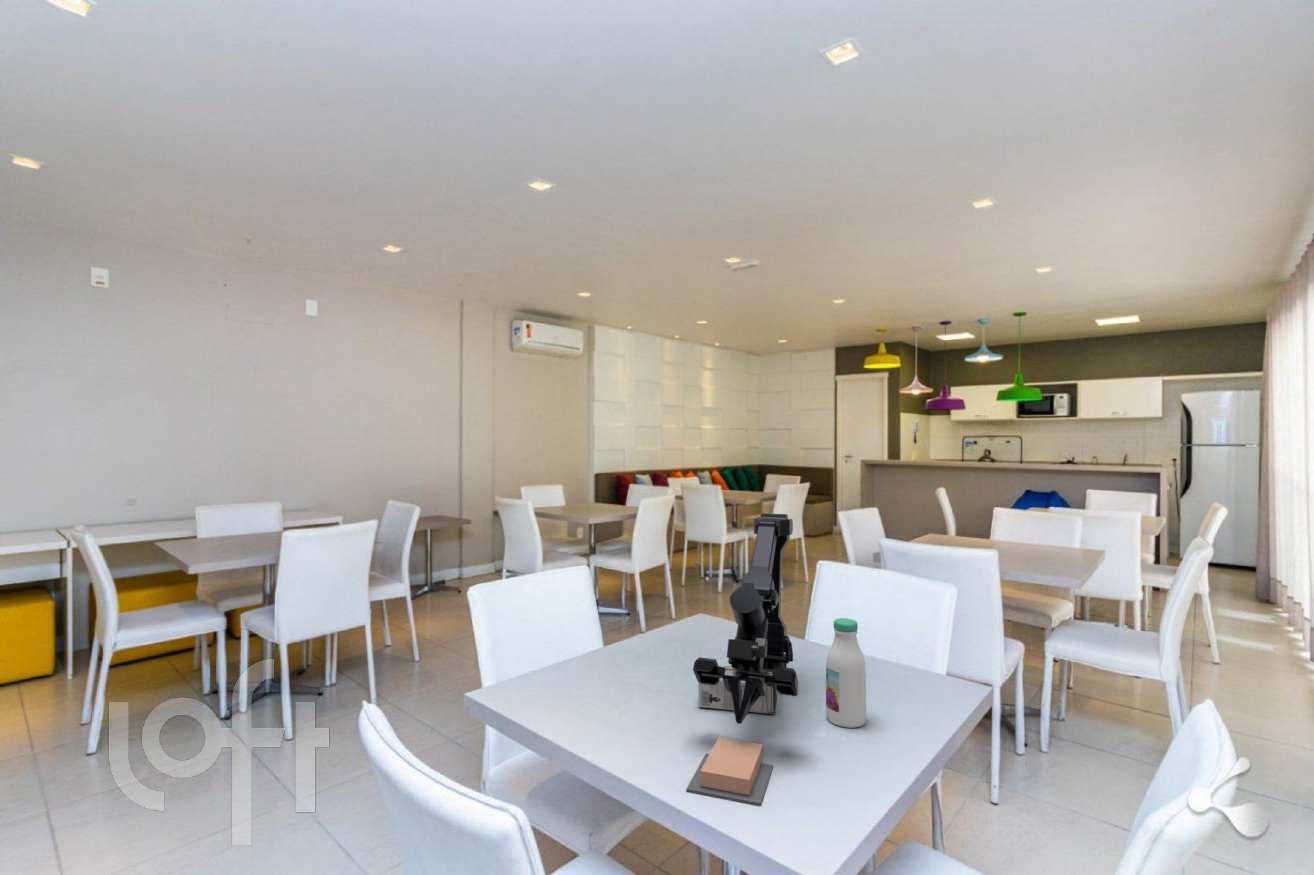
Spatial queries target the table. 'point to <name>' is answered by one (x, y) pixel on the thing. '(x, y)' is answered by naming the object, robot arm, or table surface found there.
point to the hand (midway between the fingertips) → (738, 722)
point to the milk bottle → (845, 677)
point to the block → (732, 766)
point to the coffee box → (723, 698)
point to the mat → (753, 798)
